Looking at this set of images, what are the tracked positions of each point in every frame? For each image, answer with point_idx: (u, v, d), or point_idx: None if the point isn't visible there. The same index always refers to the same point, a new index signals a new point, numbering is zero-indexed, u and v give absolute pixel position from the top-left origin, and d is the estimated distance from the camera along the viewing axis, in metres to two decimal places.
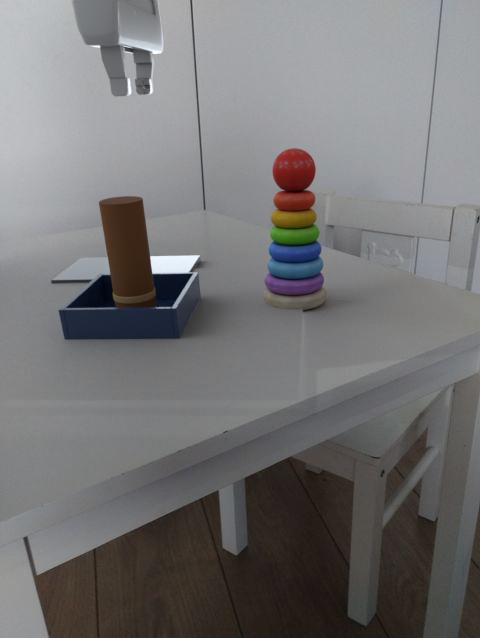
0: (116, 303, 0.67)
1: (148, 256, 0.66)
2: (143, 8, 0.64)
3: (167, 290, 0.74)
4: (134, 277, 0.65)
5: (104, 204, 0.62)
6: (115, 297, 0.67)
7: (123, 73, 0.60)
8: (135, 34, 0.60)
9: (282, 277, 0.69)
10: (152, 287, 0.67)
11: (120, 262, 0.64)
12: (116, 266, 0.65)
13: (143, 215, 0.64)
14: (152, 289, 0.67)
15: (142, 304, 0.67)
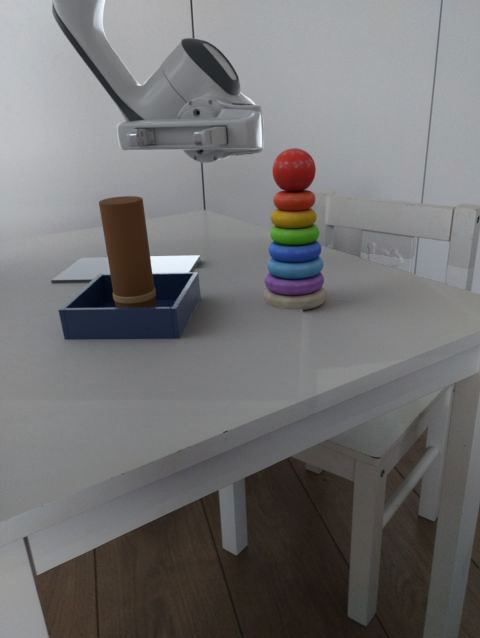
0: (116, 303, 0.67)
1: (148, 256, 0.66)
2: None
3: (167, 290, 0.74)
4: (134, 277, 0.65)
5: (104, 204, 0.62)
6: (115, 297, 0.67)
7: (214, 143, 0.72)
8: None
9: (282, 277, 0.69)
10: (152, 287, 0.67)
11: (120, 262, 0.64)
12: (116, 266, 0.65)
13: (143, 215, 0.64)
14: (152, 289, 0.67)
15: (142, 304, 0.67)
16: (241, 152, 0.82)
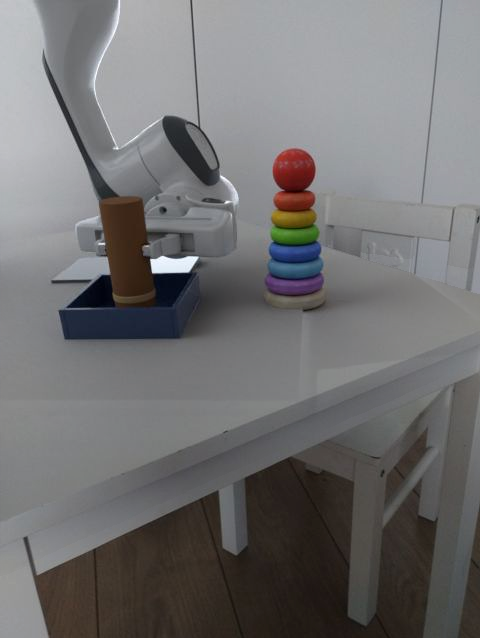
0: (116, 303, 0.67)
1: None
2: None
3: (167, 290, 0.74)
4: (134, 276, 0.65)
5: (104, 204, 0.62)
6: (115, 297, 0.67)
7: (165, 254, 0.66)
8: None
9: (282, 277, 0.69)
10: (152, 287, 0.67)
11: (120, 262, 0.64)
12: (116, 266, 0.65)
13: (143, 215, 0.64)
14: (152, 289, 0.67)
15: (142, 304, 0.67)
16: None
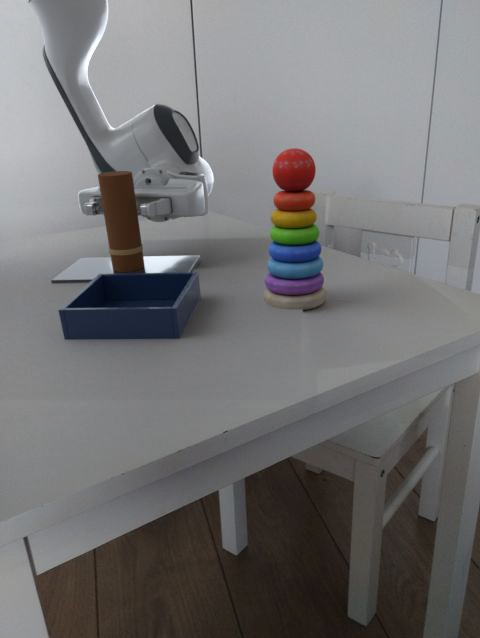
0: (111, 256, 0.85)
1: (136, 218, 0.84)
2: None
3: (167, 290, 0.74)
4: (125, 234, 0.83)
5: (102, 176, 0.80)
6: (110, 250, 0.85)
7: (159, 213, 0.83)
8: None
9: (282, 277, 0.69)
10: (140, 243, 0.86)
11: (114, 222, 0.82)
12: (111, 225, 0.83)
13: (132, 185, 0.82)
14: (140, 245, 0.86)
15: (131, 256, 0.85)
16: None
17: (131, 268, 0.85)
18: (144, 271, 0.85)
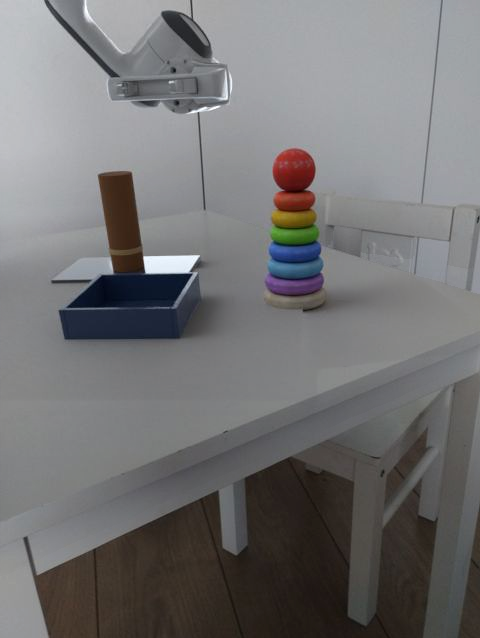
0: (111, 256, 0.85)
1: (136, 218, 0.84)
2: None
3: (167, 290, 0.74)
4: (125, 234, 0.83)
5: (102, 176, 0.80)
6: (110, 250, 0.85)
7: (186, 91, 0.88)
8: None
9: (282, 277, 0.69)
10: (140, 243, 0.86)
11: (114, 222, 0.82)
12: (111, 225, 0.83)
13: (132, 185, 0.82)
14: (140, 245, 0.86)
15: (131, 256, 0.85)
16: (211, 104, 0.97)
17: (131, 268, 0.85)
18: (144, 271, 0.85)
